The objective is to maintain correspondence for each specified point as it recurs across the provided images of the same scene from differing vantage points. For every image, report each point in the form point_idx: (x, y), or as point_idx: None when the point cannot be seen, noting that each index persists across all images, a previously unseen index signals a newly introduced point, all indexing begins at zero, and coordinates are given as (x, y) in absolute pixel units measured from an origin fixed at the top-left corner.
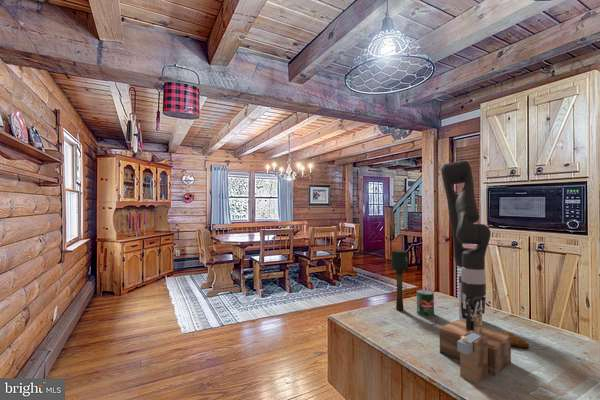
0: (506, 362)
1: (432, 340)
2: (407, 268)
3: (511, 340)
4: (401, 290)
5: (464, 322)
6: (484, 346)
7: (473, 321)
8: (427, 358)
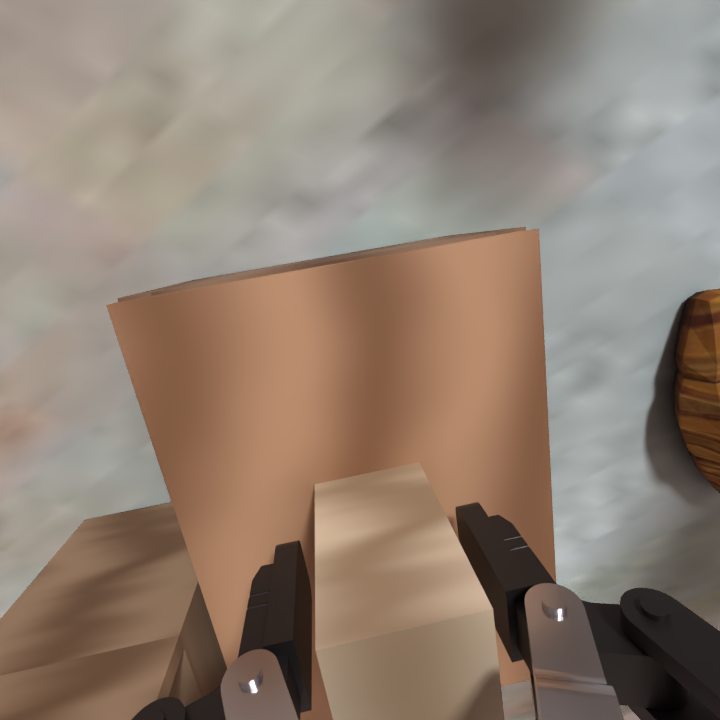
0: None
1: (306, 102)
2: None
3: (705, 453)
4: None
5: (525, 328)
6: None
7: (301, 706)
8: (37, 295)
